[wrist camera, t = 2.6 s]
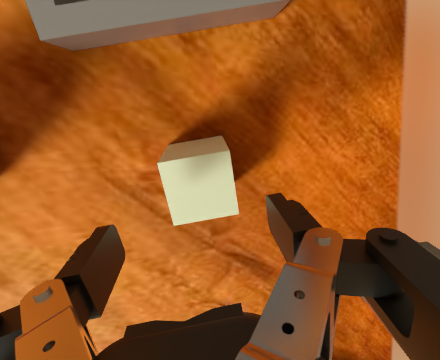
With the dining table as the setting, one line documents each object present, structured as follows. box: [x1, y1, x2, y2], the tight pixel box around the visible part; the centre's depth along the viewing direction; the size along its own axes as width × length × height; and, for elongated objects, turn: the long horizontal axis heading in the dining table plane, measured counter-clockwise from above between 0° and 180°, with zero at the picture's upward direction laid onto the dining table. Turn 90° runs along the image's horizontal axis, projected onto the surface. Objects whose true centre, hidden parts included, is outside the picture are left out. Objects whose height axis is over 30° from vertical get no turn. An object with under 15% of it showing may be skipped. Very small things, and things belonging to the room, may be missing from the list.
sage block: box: [157, 136, 239, 226], centre depth 20 cm, size 5×5×6 cm
